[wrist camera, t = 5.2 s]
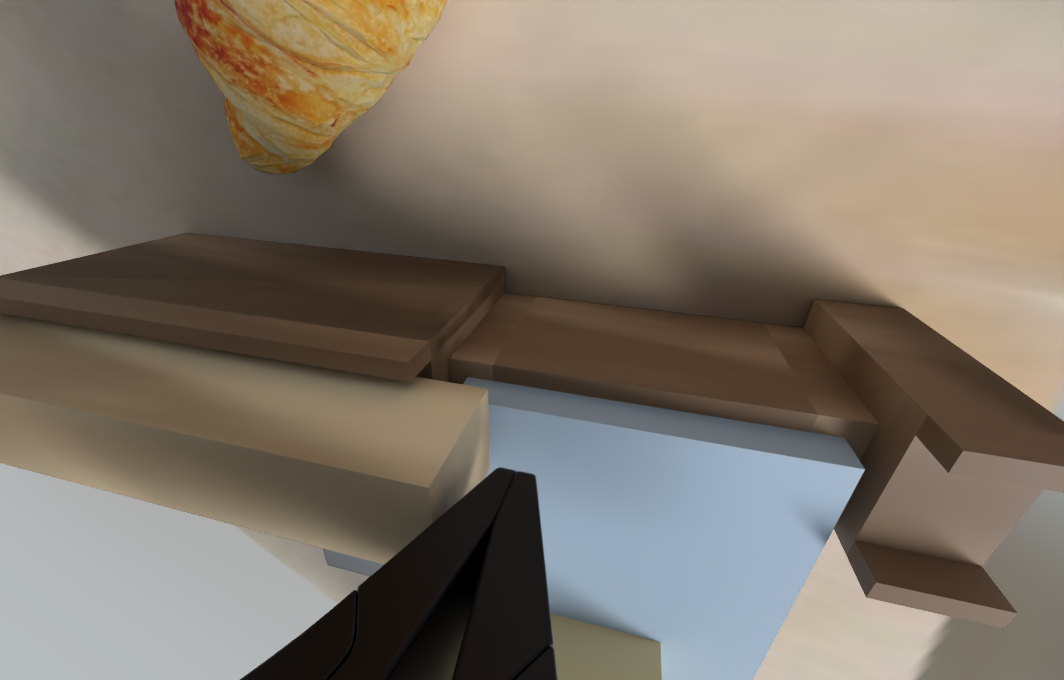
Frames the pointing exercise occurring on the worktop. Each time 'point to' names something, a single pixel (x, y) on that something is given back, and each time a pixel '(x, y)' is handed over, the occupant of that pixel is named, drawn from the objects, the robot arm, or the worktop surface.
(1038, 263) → the worktop surface
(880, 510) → the brown wooden box
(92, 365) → the beige block
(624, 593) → the lid
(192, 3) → the croissant
